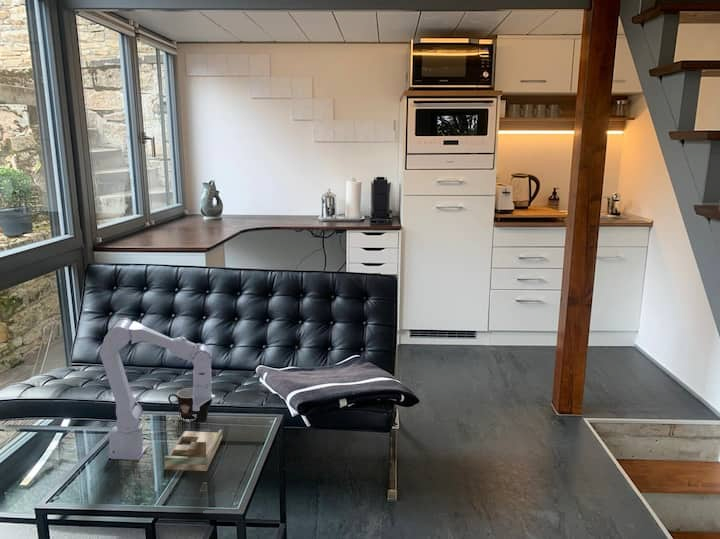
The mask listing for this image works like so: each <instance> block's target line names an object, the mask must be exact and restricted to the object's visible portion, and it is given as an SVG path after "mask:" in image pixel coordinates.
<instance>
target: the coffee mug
mask: <svg viewBox="0 0 720 539" xmlns="http://www.w3.org/2000/svg"><path fill="white" fill-rule="evenodd" d="M171 397H175V398H176V399H177V405H178V406H177V405H176V404H174V403H173V402H172V401H171ZM167 400H168V402H169V404H170V405H172V407H174V408H175V409H176V410H178V411H179V414H180V413H181V417H182V418H184V419H189V420H190V419H194V418H195V417H194V416H192V415H193V414H196V411H193V407H192V403H193V387H186V388H185V387H184V388H182V389H180V390H178V391H177V392H176V394H175V393H172V394H169V395H168V398H167Z"/></svg>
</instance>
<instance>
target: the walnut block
mask: <svg viewBox="0 0 720 539" xmlns="http://www.w3.org/2000/svg"><path fill="white" fill-rule="evenodd" d="M205 456H206V442H191V444H190V446H189V448H188V457H205Z"/></svg>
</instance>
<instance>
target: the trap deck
mask: <svg viewBox="0 0 720 539" xmlns="http://www.w3.org/2000/svg"><path fill="white" fill-rule="evenodd" d="M222 440H223V429H219V430H218V431H217V432H214V431H212V432H211V431H192V430H191V431H190V430H189V431H188V430H184V431H183V432H182V434H181V436H180V437H179V438H178V441H177V442H176V444H175V445H174V447H173V449H172V450H171V452H170V453H169V455H165V456H163V467H164V470H177V471H178V470H179V471H197V472H198V471H200V472H201V471H202V472H207V471H208V469H209V467H210V464H211V463H212V461H213V458H214V457H215V454H216V452H217V450H218V448H219V446H220V444H221V442H222ZM191 442H206V456H205V457H188V448H189V446H190V444H191Z"/></svg>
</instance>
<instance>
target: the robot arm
mask: <svg viewBox="0 0 720 539" xmlns="http://www.w3.org/2000/svg"><path fill="white" fill-rule="evenodd" d="M130 341H131V342H130ZM129 342H130V344H131V345H132V344H135V343H139V342H147V343H148V344H152V345H156V346H158V347H160V348H164V349H167V350H168V353H169V354H170V355H172V356H175V357H178V358H180V359H183V360H185V361H188V362H191V363H192V365H193V370H192V380H193V381H192V388H193V403H192V407H193V411H196V414H197V417H198V419H197V420H198V423H204V424H205V423H206V422H207V419H208V415H209V411H210V407H211V405H212V402H213V401H214V400H215V398H216V395H215V394H213V392H212V391H213V390H212V386H213V385H212V382H213V381H212V371H213V370H212V355H213V351H212V349H211V347H209V345H207V344H205V343H198V342H197V343H195V342H192V341H190V340H187V337H184V336H182V337H179V336H177V337H173V338H171V337H169V336H167V335H165V334H163V333H162V332H159V331H157V330H154V329H152V328H150V327H148V326H145V325H143V324H141V322H139V321H133V320H132V319H129V318H125V317H124V318H119V319H118V320H117V321H116V322H115V323H114V324H113V325H112V326H111V328H110V329H109V331H108V332H107V334H106V335H105V336H104V339H103V342H102V345H101V347H100V350H99V356H100V358H101V362H102V365H103V368H104V371H105V374H106V377H107V380H108V383H109V386H110V389H111V392H112V395H113V396H112V397H113V398H114V402H115V417H116V422H115V425H116V426H113V427H112V428H111V430H110V433H109V436H108V437H109V438H108V444H109V446H108V447H109V448H108V449H109V456H108V459H109V458H111V459H110V460H131V461H139V460H140V458H141V457H142V456H143V454H144V453H145V452H146V450H147V448H148V445H143V444H144V442H143V441H144V440H143V423H142V422H141V419H140V418H141V417H142V415H143V408H142V406H141V405H140V404H139V403H138V401H137V398H136V397H135V396H133V393H132V390H131V387H130V383H129V380H128V377H127V373H126V371H125V368H124V364H123V361H122V358H121V356H120V350H121V349H122V348H123V347H125V346H126V345H128V343H129Z"/></svg>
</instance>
